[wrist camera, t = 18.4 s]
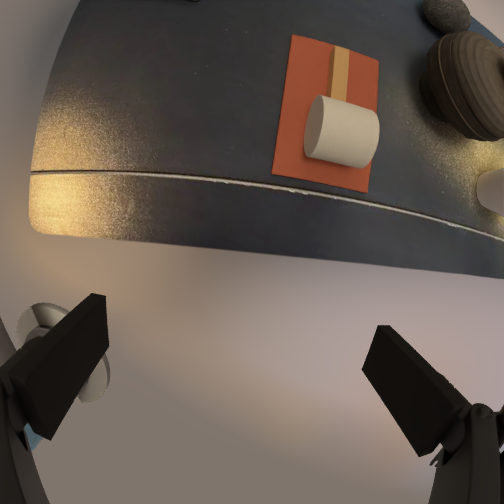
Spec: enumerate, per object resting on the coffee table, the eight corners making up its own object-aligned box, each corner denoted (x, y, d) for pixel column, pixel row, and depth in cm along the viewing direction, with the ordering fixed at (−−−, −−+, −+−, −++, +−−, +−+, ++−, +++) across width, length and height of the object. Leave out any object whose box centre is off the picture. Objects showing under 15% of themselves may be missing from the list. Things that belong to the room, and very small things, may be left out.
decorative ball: (446, 49, 32) (477, 34, 23) (408, 14, 31) (436, -7, 21) (454, 27, 31) (482, 12, 21) (419, -5, 29) (444, -24, 19)
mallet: (314, 46, 32) (332, 21, 24) (358, 60, 32) (382, 39, 25) (300, 159, 36) (318, 152, 28) (348, 170, 36) (375, 167, 29)
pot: (450, 169, 37) (539, 159, 18) (383, 86, 35) (456, 30, 15) (483, 117, 36) (553, 97, 16) (427, 45, 34) (487, 0, 14)
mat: (364, 192, 38) (367, 193, 37) (270, 173, 37) (271, 173, 36) (376, 62, 33) (378, 60, 33) (291, 36, 32) (292, 34, 31)
